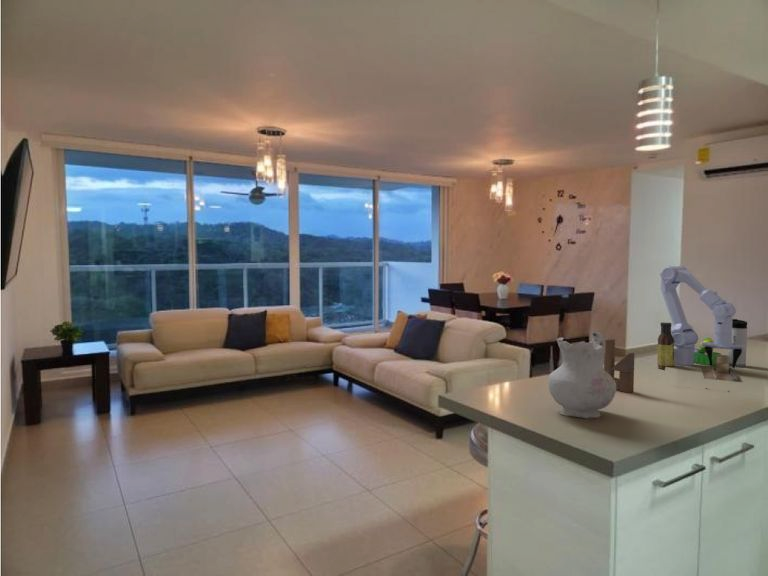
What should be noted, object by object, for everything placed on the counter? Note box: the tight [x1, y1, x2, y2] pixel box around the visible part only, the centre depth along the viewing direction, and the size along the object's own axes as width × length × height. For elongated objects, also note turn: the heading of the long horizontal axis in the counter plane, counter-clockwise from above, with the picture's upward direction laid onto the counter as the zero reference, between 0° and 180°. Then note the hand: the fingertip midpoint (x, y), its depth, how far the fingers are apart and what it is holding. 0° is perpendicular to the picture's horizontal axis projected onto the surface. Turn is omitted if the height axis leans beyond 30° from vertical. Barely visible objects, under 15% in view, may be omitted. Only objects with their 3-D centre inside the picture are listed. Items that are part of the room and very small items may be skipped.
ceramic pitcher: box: [547, 330, 617, 420], centre depth 155 cm, size 22×20×25 cm
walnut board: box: [700, 366, 743, 383], centre depth 197 cm, size 12×22×2 cm, turn 150°
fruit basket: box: [694, 337, 722, 366], centre depth 223 cm, size 11×9×11 cm
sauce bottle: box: [657, 321, 675, 370], centre depth 213 cm, size 6×6×20 cm
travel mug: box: [728, 318, 748, 368], centre depth 218 cm, size 6×7×20 cm
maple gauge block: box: [713, 354, 730, 372], centre depth 203 cm, size 5×5×6 cm
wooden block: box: [603, 337, 635, 394], centre depth 181 cm, size 4×11×18 cm, turn 31°
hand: (722, 366), depth 202 cm, fingers open, 7 cm apart
